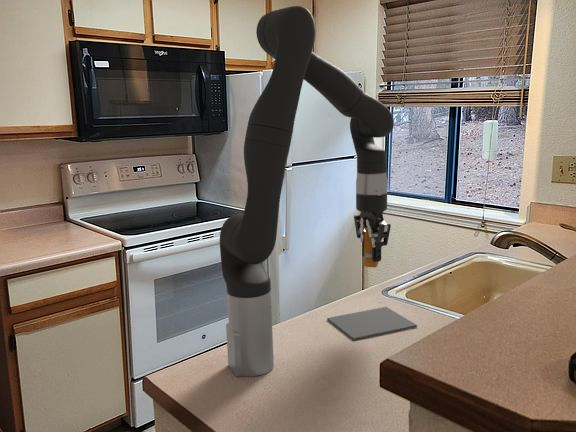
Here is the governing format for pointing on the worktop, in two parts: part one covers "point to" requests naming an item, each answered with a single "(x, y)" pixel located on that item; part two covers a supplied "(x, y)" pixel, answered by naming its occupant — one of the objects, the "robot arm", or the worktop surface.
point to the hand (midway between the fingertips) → (371, 258)
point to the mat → (371, 323)
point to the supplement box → (368, 250)
